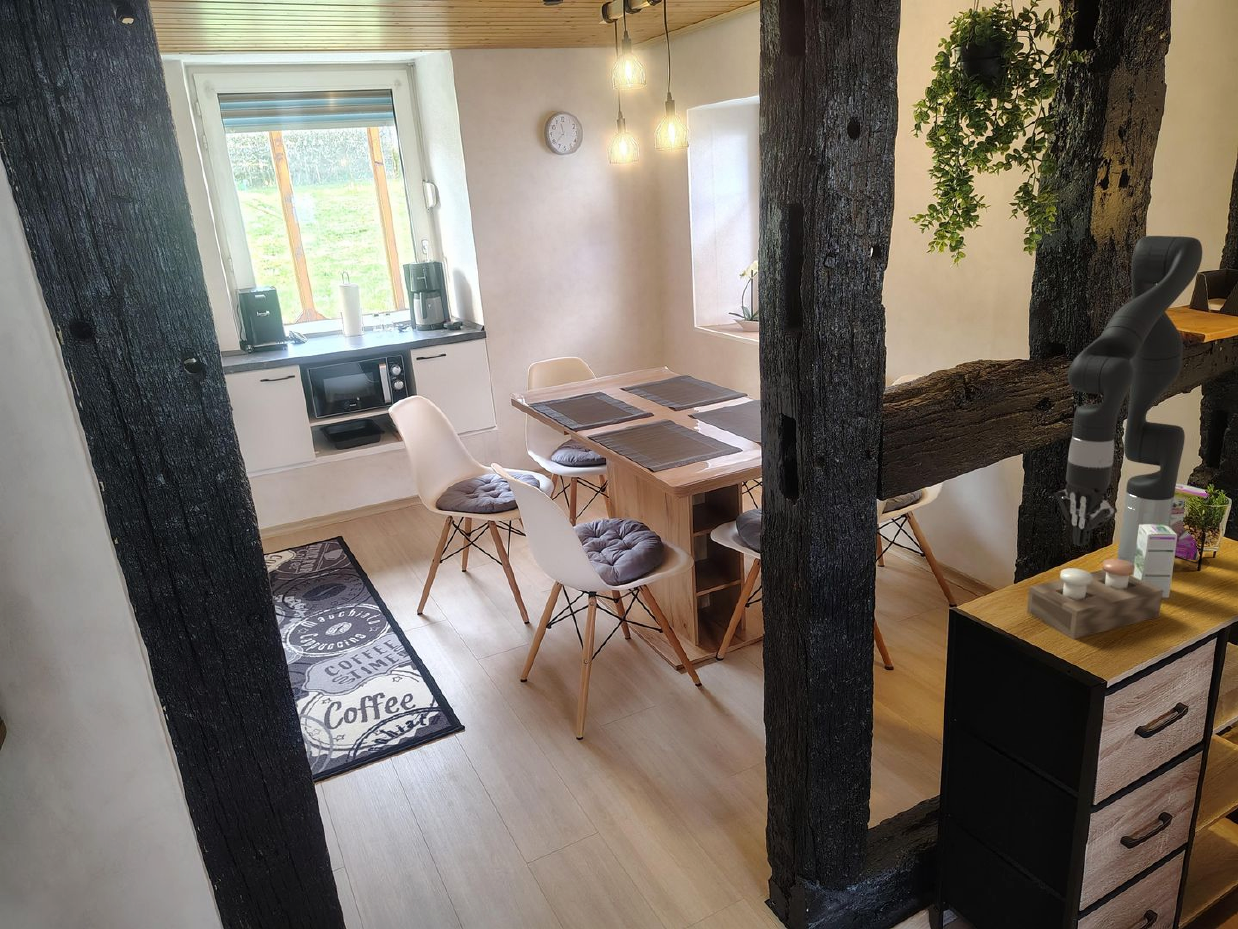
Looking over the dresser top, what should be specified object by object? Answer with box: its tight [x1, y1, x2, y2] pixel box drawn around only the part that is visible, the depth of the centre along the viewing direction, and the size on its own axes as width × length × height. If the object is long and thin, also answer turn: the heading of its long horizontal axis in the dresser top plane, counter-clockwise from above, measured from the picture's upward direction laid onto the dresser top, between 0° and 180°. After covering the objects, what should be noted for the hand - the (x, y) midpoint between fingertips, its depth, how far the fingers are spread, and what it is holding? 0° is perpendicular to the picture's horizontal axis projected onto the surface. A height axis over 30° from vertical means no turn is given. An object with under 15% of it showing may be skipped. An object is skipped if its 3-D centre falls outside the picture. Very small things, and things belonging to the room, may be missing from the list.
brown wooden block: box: [1026, 569, 1163, 640], centre depth 175 cm, size 22×12×6 cm, turn 109°
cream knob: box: [1059, 567, 1092, 601], centre depth 172 cm, size 6×6×7 cm
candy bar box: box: [1170, 482, 1211, 560], centre depth 199 cm, size 11×5×16 cm, turn 33°
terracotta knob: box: [1102, 558, 1135, 590], centre depth 175 cm, size 6×6×7 cm
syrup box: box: [1132, 524, 1177, 599], centre depth 182 cm, size 6×6×14 cm
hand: (1080, 544), depth 169 cm, fingers closed
